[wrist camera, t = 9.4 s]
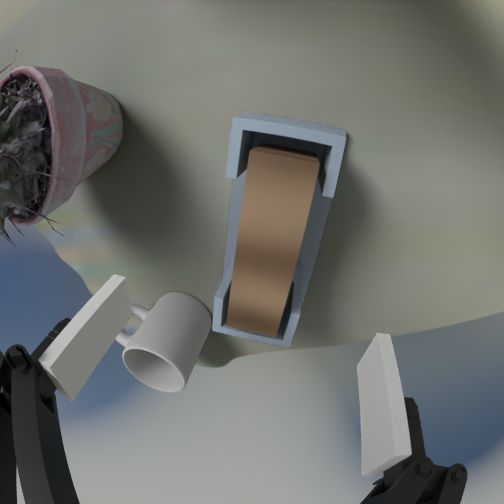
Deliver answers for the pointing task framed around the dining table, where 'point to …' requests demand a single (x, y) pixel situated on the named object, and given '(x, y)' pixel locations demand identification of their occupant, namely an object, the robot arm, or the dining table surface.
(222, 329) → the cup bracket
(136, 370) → the mug
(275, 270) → the tapered block
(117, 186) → the dining table surface
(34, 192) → the potted plant
